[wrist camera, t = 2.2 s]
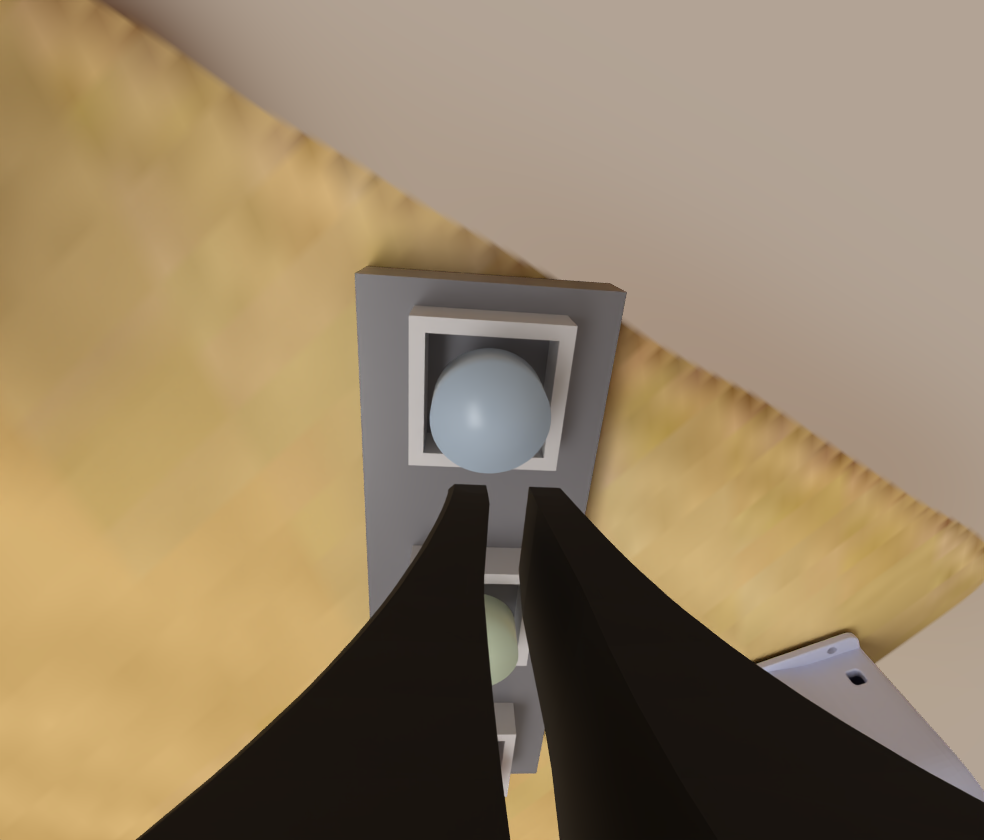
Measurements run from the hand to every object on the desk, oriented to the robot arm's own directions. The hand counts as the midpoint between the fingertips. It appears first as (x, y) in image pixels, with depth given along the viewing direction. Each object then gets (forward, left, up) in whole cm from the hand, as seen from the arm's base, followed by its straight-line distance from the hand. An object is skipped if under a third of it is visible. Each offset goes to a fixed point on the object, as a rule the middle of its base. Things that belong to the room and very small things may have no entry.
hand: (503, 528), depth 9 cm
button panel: (+5, +9, -10) cm, 14 cm away
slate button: (0, 0, -7) cm, 7 cm away
